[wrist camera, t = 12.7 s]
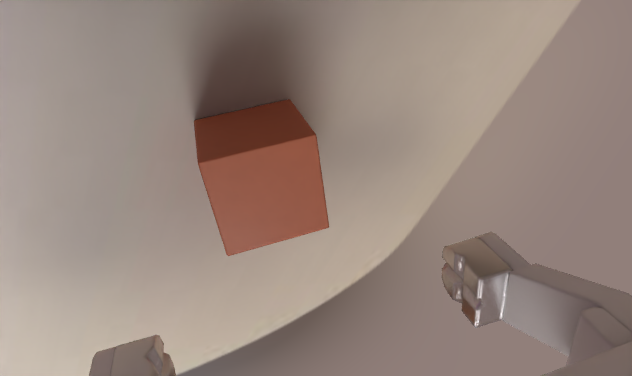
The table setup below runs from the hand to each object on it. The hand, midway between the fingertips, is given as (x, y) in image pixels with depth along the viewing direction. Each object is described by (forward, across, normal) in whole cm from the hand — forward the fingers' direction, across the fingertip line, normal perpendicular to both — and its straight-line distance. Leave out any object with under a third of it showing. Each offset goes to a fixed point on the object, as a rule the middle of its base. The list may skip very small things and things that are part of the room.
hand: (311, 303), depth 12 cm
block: (+10, 0, 0) cm, 10 cm away
